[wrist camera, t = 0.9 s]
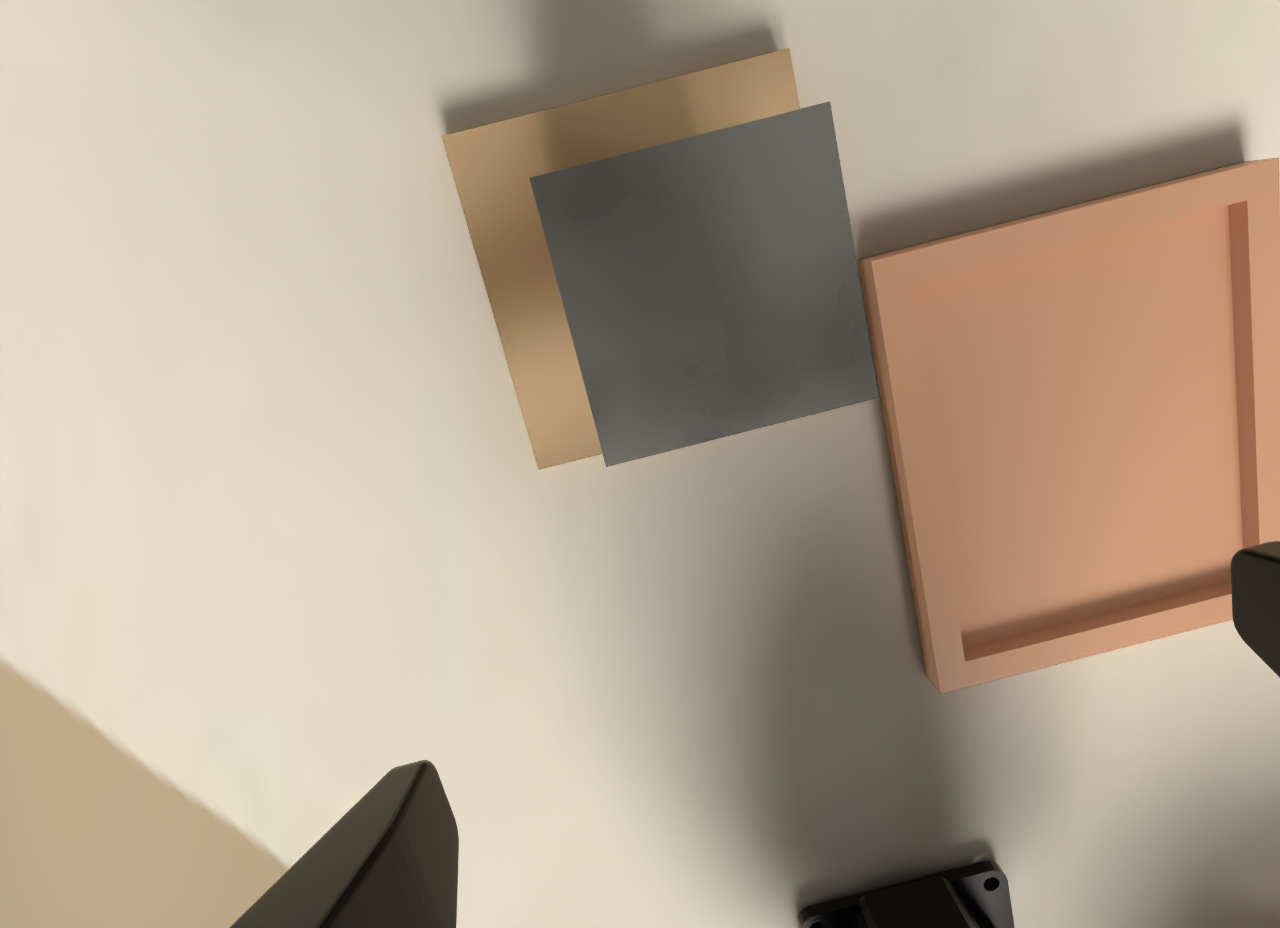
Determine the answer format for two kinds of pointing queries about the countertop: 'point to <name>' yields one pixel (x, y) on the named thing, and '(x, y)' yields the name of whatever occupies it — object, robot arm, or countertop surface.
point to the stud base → (513, 234)
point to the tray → (1083, 419)
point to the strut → (710, 283)
